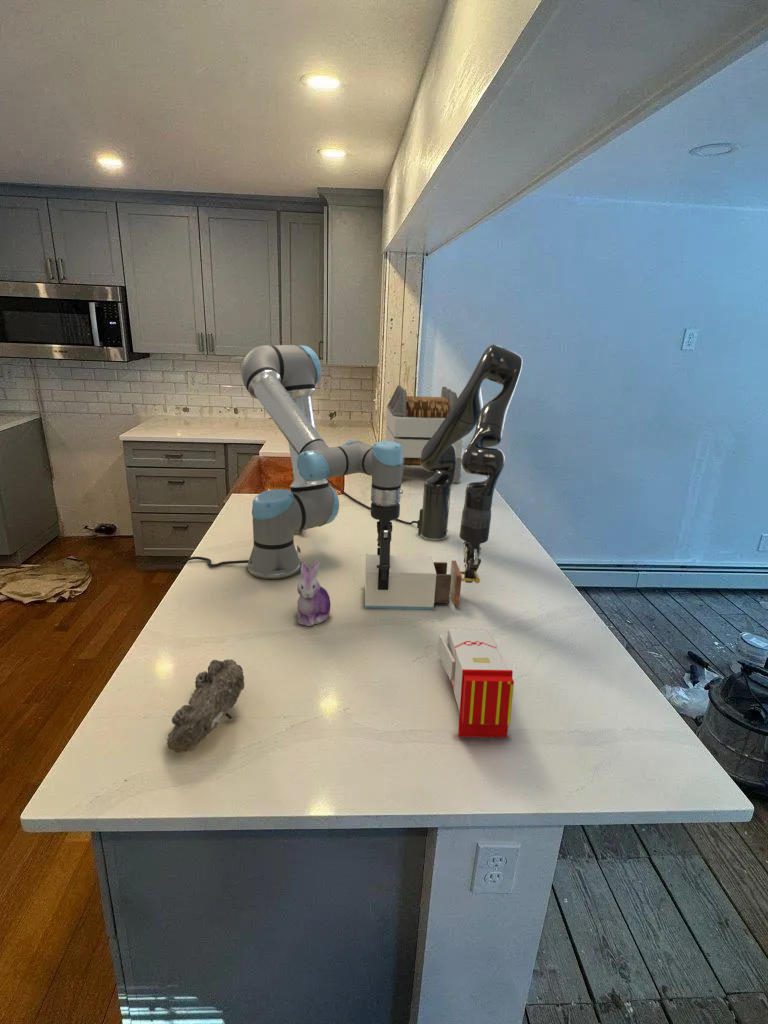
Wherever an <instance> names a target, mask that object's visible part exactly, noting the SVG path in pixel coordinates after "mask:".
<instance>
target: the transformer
mask: <svg viewBox="0 0 768 1024" xmlns="http://www.w3.org/2000/svg"><path fill="white" fill-rule="evenodd" d="M440 393H441V394H440V396H415V395H414V396H413V395H412V396H411V395H407V394H408V393H407V390H406V389H404V388H403V387H402V385H399V384H398V385H397V386H396V388H395V390H394V392H393V394H392V395H391V398H390V400H389V402H388V404H387V405H386V413H385V414H386V415H385V423H386V428H385V438H384V441H390V442H396V443H399V444H400V445H401V446H402V449H403V463H402V477H401V483H402V482H403V475H404V469H405V466H406V467H407V466H411V467H412V466H413V467H415V466H416V467H417V466H418V467H422V466H421V463H420V456H421V452H422V450H423V448H424V446H425V445H426V444H427V442H428V441H429V440H430V439H431V437H432V436H433V435H434V434H435V433H436V431H437V430H438V428H439V427H440V425H441V424H442V422H443V421H444V419H445V418H446V416H447V414H448V412H449V411H450V409H451V408H452V406H453V404H454V403H455V401H456V400H457V398H458V395H457V392H455V391H453V390H452V389H451V388H447V386H442V387H441V392H440ZM463 442H464V441H463V440H462V439H460V440H459V441H457V442H455V443H454V444H452V445H453V446H454V448H455V451H456V466H455V473H454V480H453V484H455V483H456V484H459V483H461V472H462V453H463Z"/></svg>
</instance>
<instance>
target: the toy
mask: <svg viewBox="0 0 768 1024" xmlns="http://www.w3.org/2000/svg"><path fill="white" fill-rule="evenodd" d="M446 640H447V643H446V641H445V639H444V636H443V635H442V634H439V637H438V646H437V656H438V657H439V659H440V661H441V663H442V666H443V668H444V670H445V672H446V674H447V677H448V679H449V681H450V684H451V687H452V690H453V693H454V697H455V701H456V705H457V708H458V711H459V714H458V715H459V716H458V730H457V731H458V732H457V737H458V738H508V731H509V726H510V725H511V717H512V707H513V697H514V696H513V695H514V684H515V680H514V679H513V673H514V671H513V670H512V669H508V667H507V665H506V662H505V661H504V659H503V658H502V655H501V653H500V651H499V649H498V647H497V643H496V639H495V637H494V635H493V634H491V632H490V631H489V629H467V628H466V629H465V628H463V629H461V628H460V629H459V628H448V630H447V639H446Z"/></svg>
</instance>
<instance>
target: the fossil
mask: <svg viewBox="0 0 768 1024" xmlns="http://www.w3.org/2000/svg"><path fill="white" fill-rule="evenodd" d="M243 670H244V669H243V667H242V665H240V664H237V662H236V661H235V660H234V659H232V658H231V659H227V658H226V659H224V660H223V661H222V660H217V659H212V660H211V661H210V663H209V665H208V666H207V671H201V672H199V673H198V674H197V675H196V676H195V680H194V684H195V685H194V687H195V689H194V690H193V693H192V694H191V697H190V698H189V700H188V704H184V705H182V706H181V707H180V709H177V710H176V711H175V713H174V715H173V716H172V718H171V723H172V724H173V727H172V730H171V731H170V732H168V734H167V738H166V741H167V742H166V745H167V749H168V750H169V751H173V752H174V753H176V754H178V753H182V752H188V751H189V752H192V751H193V750H195V748H196V747H197V746H199V744H200V743H201V742H203V741H204V740H205V739H206V738H207V737H208V736H209V735H210V734H211V733H212V732H214V730H215V729H217V727H218V726H219V724H220V722H221V721H222V720H223V719H224V718H225V716H226V717H227V719H229V720H233V717H232V715H230V714H229V710H230V709H231V708H234V706H235V704H236V703H237V702H238V699H239V697H240V695H241V693H242V691H243V690H245V689H244V688H245V675H244V671H243Z"/></svg>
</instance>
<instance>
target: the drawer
mask: <svg viewBox="0 0 768 1024" xmlns="http://www.w3.org/2000/svg"><path fill="white" fill-rule="evenodd" d="M433 563H434V567H435V570H436V586H435V598H434V603H439V604H441V603H443V604H444V603H446V604H449V602H450V596H451V600H452V602H453V605H454V606H456V607H458V606H460V598H461V590H462V589H461V588H462V582H465V581H473V582H474V583H475V584H479V583H480V582H481V578H480V576H479V574H478V571H474V577H473V578H464V577H463V575H465V570H460V568H459V565H458V562H457V560H451V563H450V573H449V574H447V572H448V562H446V561H444V562H443V561H440V562H439V561H433Z"/></svg>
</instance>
